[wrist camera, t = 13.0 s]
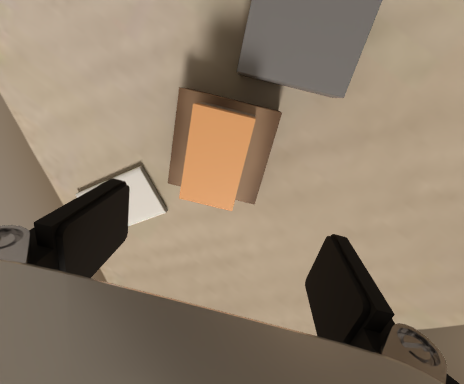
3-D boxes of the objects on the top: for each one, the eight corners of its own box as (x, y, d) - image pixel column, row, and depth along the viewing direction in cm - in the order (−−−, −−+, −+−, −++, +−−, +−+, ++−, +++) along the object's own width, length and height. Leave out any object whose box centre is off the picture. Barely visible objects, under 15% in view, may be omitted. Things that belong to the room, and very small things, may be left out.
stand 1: (278, 110, 30) (282, 112, 26) (254, 192, 34) (254, 204, 31) (188, 88, 29) (179, 87, 26) (176, 173, 34) (167, 183, 31)
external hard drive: (169, 208, 37) (108, 230, 40) (143, 163, 35) (80, 190, 37) (165, 213, 36) (103, 235, 39) (139, 166, 33) (73, 194, 36)
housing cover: (233, 203, 27) (232, 211, 25) (184, 191, 27) (179, 198, 25) (255, 117, 23) (255, 119, 21) (197, 103, 23) (193, 103, 21)
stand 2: (377, -24, 24) (400, -46, 20) (331, 97, 28) (343, 97, 25) (266, -53, 24) (268, -80, 20) (238, 74, 28) (236, 71, 25)
